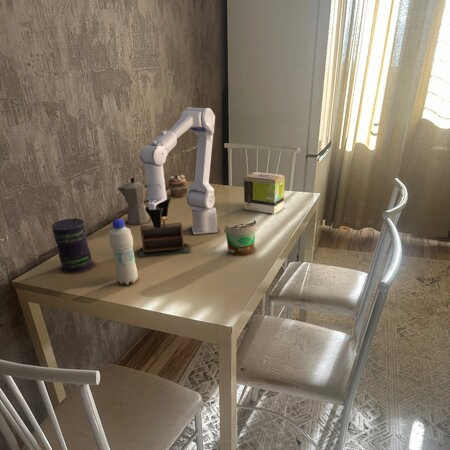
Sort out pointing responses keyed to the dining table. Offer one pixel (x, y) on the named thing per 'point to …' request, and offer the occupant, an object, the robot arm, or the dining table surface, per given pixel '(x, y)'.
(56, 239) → the storage jar
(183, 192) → the cupcake
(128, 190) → the coffeepot
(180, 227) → the drawer
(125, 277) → the bottle
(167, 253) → the flat teal board
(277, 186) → the tea box
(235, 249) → the food container
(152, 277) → the dining table surface
